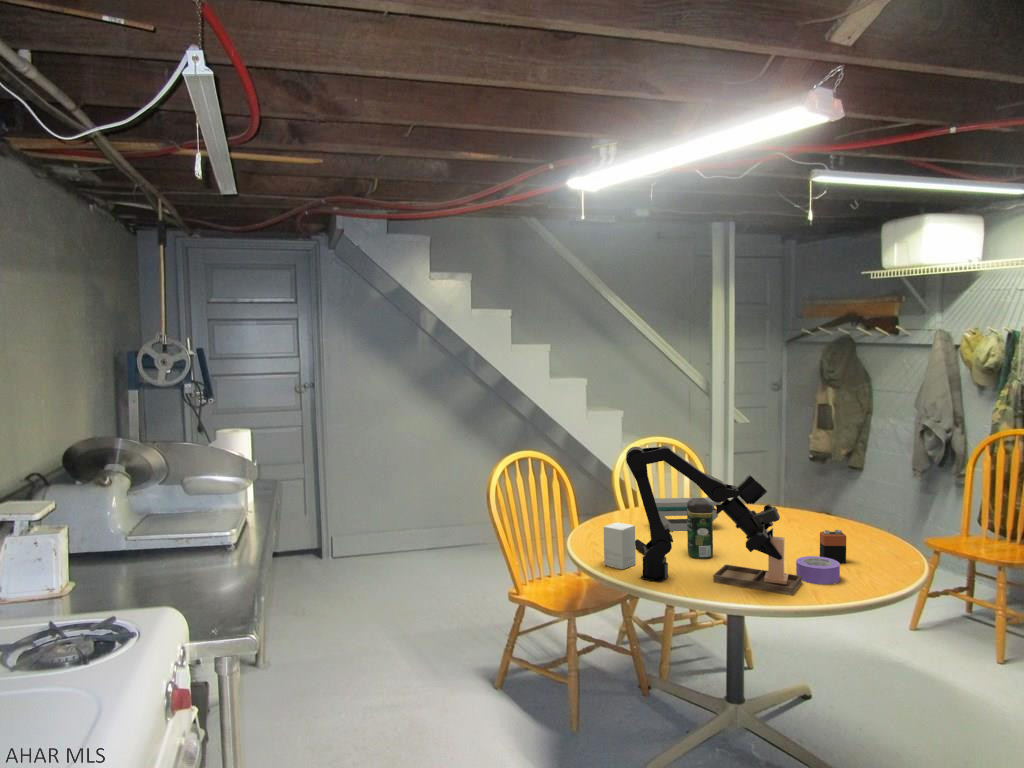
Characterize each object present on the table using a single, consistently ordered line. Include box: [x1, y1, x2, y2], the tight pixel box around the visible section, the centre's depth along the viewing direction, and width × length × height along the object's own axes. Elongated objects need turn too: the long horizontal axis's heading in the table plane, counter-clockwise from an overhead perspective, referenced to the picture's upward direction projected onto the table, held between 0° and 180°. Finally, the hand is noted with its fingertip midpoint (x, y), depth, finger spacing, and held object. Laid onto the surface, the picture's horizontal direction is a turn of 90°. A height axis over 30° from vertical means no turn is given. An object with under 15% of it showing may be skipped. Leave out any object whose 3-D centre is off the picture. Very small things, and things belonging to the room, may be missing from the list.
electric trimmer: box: [635, 539, 647, 555], centre depth 238 cm, size 4×16×3 cm, turn 10°
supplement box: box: [603, 521, 637, 570], centre depth 225 cm, size 7×7×13 cm
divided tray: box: [712, 564, 803, 596], centre depth 206 cm, size 22×12×2 cm, turn 57°
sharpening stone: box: [654, 497, 722, 532], centre depth 268 cm, size 25×8×11 cm, turn 90°
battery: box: [819, 529, 847, 564], centre depth 225 cm, size 4×7×10 cm, turn 85°
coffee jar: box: [686, 497, 714, 560], centre depth 234 cm, size 10×8×19 cm
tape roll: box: [795, 555, 841, 586], centre depth 210 cm, size 12×12×5 cm
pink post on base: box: [764, 535, 789, 584], centre depth 203 cm, size 6×6×12 cm
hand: (781, 557), depth 203 cm, fingers closed on pink post on base, 3 cm apart
